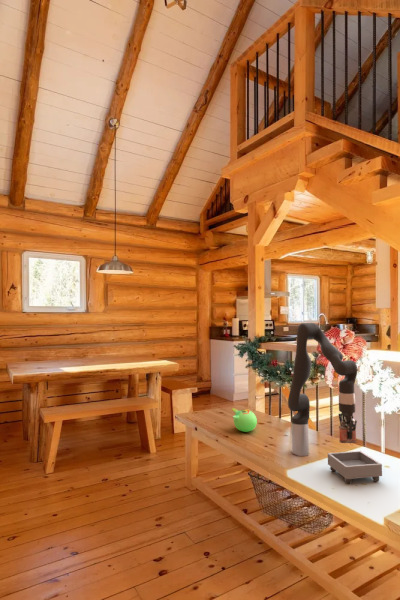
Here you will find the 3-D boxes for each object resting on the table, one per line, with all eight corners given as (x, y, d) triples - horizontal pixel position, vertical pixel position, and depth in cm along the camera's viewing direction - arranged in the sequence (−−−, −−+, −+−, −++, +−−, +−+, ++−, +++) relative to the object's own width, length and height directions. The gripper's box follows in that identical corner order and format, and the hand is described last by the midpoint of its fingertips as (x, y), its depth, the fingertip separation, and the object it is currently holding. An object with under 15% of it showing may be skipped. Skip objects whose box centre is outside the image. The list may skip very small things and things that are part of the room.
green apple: (258, 434, 256) (258, 412, 256) (232, 435, 256) (232, 412, 257) (255, 426, 274) (255, 405, 274) (231, 427, 274) (230, 406, 275)
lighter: (354, 440, 191) (354, 420, 192) (357, 443, 188) (357, 422, 188) (338, 441, 191) (337, 420, 191) (340, 443, 188) (340, 422, 188)
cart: (327, 470, 198) (327, 453, 198) (360, 467, 200) (360, 450, 201) (346, 485, 180) (346, 466, 180) (382, 482, 183) (381, 464, 183)
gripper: (332, 399, 197) (333, 433, 196) (346, 405, 183) (347, 442, 182) (346, 398, 198) (347, 432, 197) (361, 405, 184) (362, 442, 183)
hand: (347, 437), depth 190 cm, fingers closed on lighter, 3 cm apart
